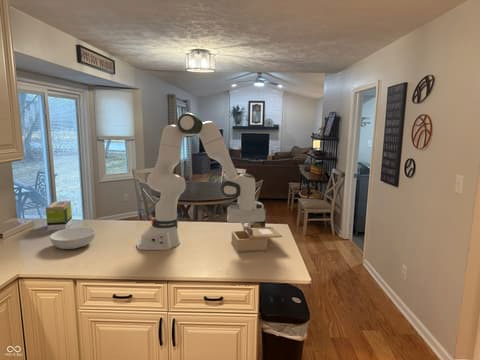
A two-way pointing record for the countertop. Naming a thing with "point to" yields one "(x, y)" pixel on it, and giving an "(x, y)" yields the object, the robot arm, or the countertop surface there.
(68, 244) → the serving bowl
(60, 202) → the tea box
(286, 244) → the countertop surface
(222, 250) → the countertop surface
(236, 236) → the box
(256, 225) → the coffee box
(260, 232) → the lid
